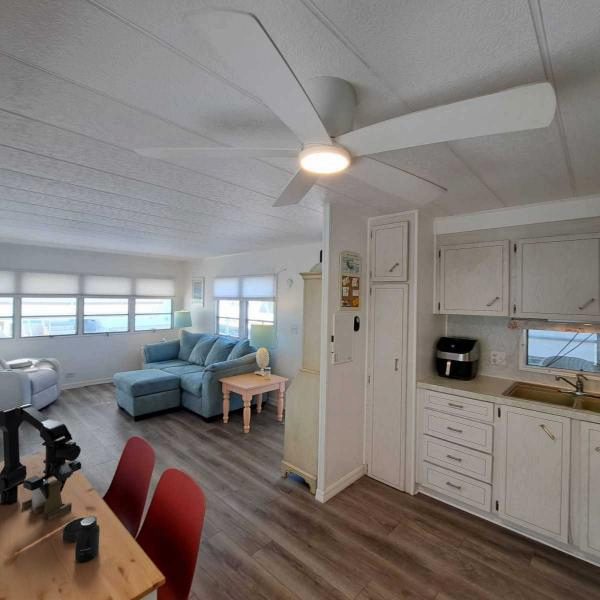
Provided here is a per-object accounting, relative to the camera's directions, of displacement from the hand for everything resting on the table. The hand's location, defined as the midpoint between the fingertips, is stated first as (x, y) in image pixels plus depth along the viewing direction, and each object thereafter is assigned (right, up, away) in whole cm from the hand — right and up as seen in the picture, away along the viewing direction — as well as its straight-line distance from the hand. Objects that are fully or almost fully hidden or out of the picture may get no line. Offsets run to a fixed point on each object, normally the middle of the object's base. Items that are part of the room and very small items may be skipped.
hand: (53, 495), depth 133 cm
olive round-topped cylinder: (0, -6, 0) cm, 6 cm away
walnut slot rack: (-4, -7, +2) cm, 9 cm away
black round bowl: (+17, -8, -12) cm, 22 cm away
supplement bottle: (+27, -8, -21) cm, 36 cm away
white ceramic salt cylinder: (-8, -7, +3) cm, 11 cm away
